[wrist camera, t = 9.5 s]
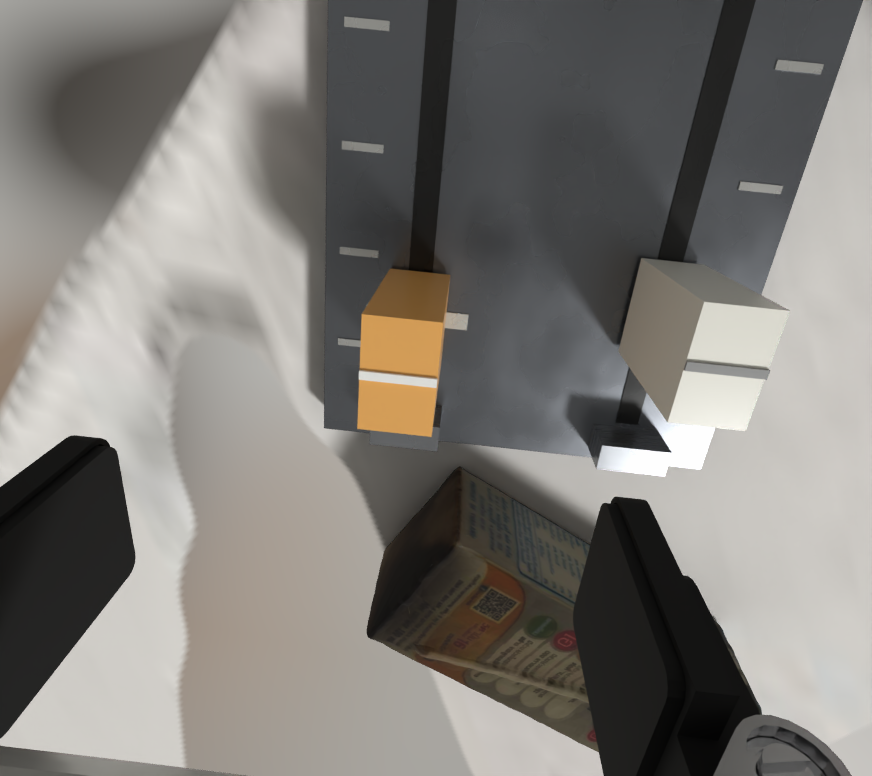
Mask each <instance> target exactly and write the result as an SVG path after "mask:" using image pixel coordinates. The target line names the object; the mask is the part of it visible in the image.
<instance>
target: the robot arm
mask: <svg viewBox="0 0 872 776" xmlns="http://www.w3.org/2000/svg"><path fill="white" fill-rule="evenodd" d="M134 564H135V550H134V545H133V539H132V533H131V528H130V522H129V516H128V511H127V505H126V499H125V494H124V488H123V483H122V477H121V471H120V466H119V460H118V455H117V451H116V450H115V449H114V448H112V447H110V445H109V443H108V442H107V441H106V440H104V439H102V438H93V437H84V436H70V437H68V438H66V439H64V440H63V441H62V442H60V443H59V444H58V445H56V446H55V447H54V448H52V449H51V450H50V451H48V452H47V453H46V454H44V455H43V456H42V457H40V458H39V459H38V460H36V461H35V462H33V463H32V464H31V465H29V466H28V467H27V468H25V469H24V470H23V471H21V472H20V473H19V474H17V475H16V476H15V477H13V478H12V479H11V480H9V481H8V482H7V483H5V484H4V485H3V486H1V487H0V738H2V737H3V736H4V735H5V734H6V732H7V731H8V730H9V729H10V728H11V726H12V725H13V724H14V722H15V721H16V720H17V719H18V717H19V716H20V715H21V714H22V712H23V711H24V710H25V708H26V707H27V706H28V705H29V703H30V702H31V701H32V699H33V698H34V697H35V696H36V694H37V693H38V692H39V690H40V689H41V688H42V687H43V685H44V684H45V683H46V682H47V680H48V679H49V678H50V676H51V675H52V674H53V673H54V671H55V670H56V669H57V667H58V666H59V665H60V664H61V662H62V661H63V660H64V658H65V657H66V656H67V655H68V653H69V652H70V651H71V650H72V648H73V647H74V646H75V644H76V643H77V642H78V641H79V639H80V638H81V637H82V635H83V634H84V633H85V632H86V630H87V629H88V628H89V626H90V625H91V624H92V623H93V621H94V620H95V619H96V618H97V616H98V615H99V614H100V612H101V611H102V610H103V609H104V607H105V606H106V605H107V603H108V602H109V601H110V600H111V598H112V597H113V596H114V594H115V593H116V592H117V591H118V589H119V588H120V587H121V586H122V584H123V583H124V582H125V580H126V579H127V578H128V577H129V575H130V574H131V572H132V570H133V567H134ZM573 626H574V632H575V637H576V642H577V646H578V651H579V656H580V661H581V666H582V671H583V676H584V681H585V686H586V691H587V696H588V701H589V705H590V710H591V715H592V720H593V725H594V730H595V735H596V740H597V745H598V750H599V755H600V759H601V764H602V769H603V774H604V776H852V775H851V774H850V772H849V771H848V769H847V768H846V767H845V765H844V763H843V762H842V761H841V760H840V759H839V758H838V757H837V756H836V754H835V753H834V752H832V750H831V749H830V748H829V747H828V746H827V745H826V744H825V743H823V742H822V741H821V740H819V739H818V738H817V737H816V736H814V735H813V734H812V733H810V732H809V731H808V730H806V729H804V728H802V727H800V726H798V725H796V724H794V723H793V722H791V721H789V720H785V719H782V718H779V717H776V716H772V715H760V713H759V710H758V708H757V706H756V704H755V702H754V700H753V698H752V696H751V694H750V692H749V690H748V688H747V686H746V684H745V682H744V680H743V678H742V676H741V674H740V672H739V670H738V668H737V666H736V664H735V662H734V660H733V658H732V656H731V654H730V652H729V650H728V648H727V646H726V644H725V642H724V640H723V638H722V636H721V634H720V632H719V630H718V628H717V626H716V624H715V622H714V620H713V618H712V616H711V614H710V612H709V610H708V608H707V606H706V603H705V601H704V599H703V597H702V595H701V593H700V591H699V589H698V587H697V586H696V584H695V583H694V581H693V580H692V579H691V578H689V577H688V576H683V575H682V573H681V571H680V569H679V567H678V565H677V563H676V560H675V558H674V556H673V554H672V552H671V550H670V548H669V546H668V544H667V541H666V539H665V537H664V535H663V533H662V531H661V529H660V527H659V525H658V523H657V520H656V518H655V516H654V514H653V512H652V510H651V508H650V506H649V504H648V502H647V501H645V500H641V499H632V498H623V497H614V498H613V499H612V501H611V504H608V503H603V504H602V506H601V508H600V511H599V515H598V519H597V523H596V526H595V530H594V534H593V538H592V541H591V545H590V549H589V552H588V556H587V560H586V564H585V567H584V571H583V575H582V578H581V582H580V586H579V590H578V593H577V597H576V601H575V605H574V609H573ZM0 776H246V775H238V774H230V773H222V772H214V771H206V770H196V769H189V768H181V767H173V766H165V765H157V764H148V763H140V762H132V761H124V760H115V759H107V758H98V757H90V756H81V755H73V754H64V753H56V752H47V751H39V750H30V749H22V748H13V747H5V746H0Z"/></svg>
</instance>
